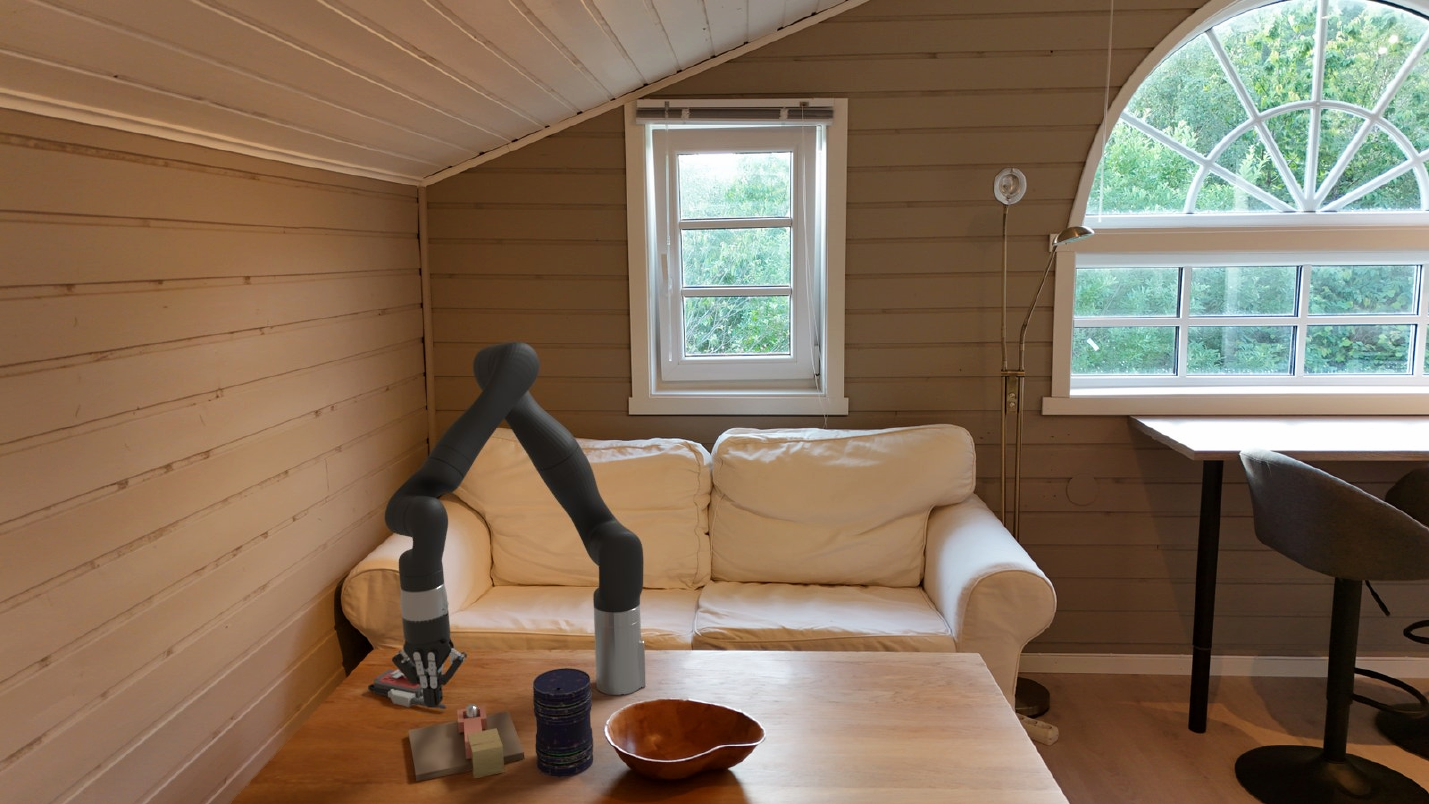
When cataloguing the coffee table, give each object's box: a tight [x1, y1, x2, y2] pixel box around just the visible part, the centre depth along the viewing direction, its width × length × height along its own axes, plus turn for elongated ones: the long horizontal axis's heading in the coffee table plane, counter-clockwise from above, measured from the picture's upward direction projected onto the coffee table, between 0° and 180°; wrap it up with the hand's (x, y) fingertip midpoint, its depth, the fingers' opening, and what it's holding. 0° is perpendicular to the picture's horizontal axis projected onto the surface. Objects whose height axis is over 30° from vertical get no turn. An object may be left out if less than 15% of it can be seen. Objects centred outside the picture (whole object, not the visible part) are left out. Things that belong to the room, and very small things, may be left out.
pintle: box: [465, 703, 477, 719], centre depth 174 cm, size 2×2×5 cm
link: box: [456, 705, 487, 759], centre depth 170 cm, size 14×5×2 cm, turn 16°
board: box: [408, 710, 525, 782], centre depth 169 cm, size 18×16×1 cm
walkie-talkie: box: [367, 669, 447, 710], centre depth 189 cm, size 9×4×20 cm
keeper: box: [467, 728, 505, 779], centre depth 163 cm, size 5×6×5 cm
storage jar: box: [532, 667, 594, 779], centre depth 163 cm, size 10×10×15 cm
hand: (434, 705), depth 163 cm, fingers closed
